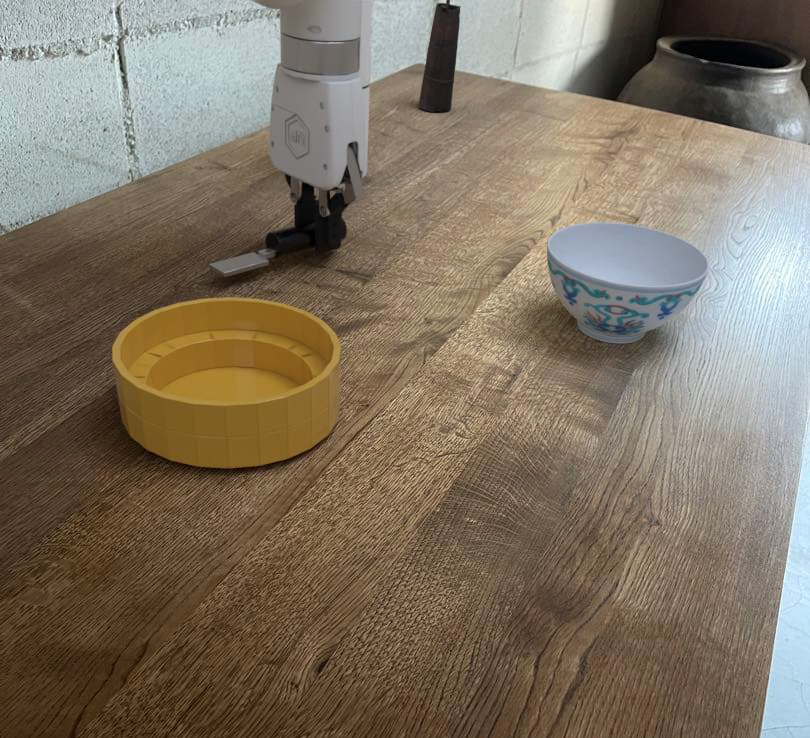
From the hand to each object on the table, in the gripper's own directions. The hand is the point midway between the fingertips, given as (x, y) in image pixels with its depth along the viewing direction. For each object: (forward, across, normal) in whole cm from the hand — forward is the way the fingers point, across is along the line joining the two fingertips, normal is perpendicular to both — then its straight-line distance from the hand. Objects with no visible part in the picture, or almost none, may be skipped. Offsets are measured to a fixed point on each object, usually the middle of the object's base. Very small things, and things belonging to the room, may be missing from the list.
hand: (317, 243), depth 98 cm
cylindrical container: (+1, -20, +20) cm, 29 cm away
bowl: (+2, +20, -26) cm, 33 cm away
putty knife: (0, 0, -5) cm, 5 cm away
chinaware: (+1, +30, +12) cm, 33 cm away
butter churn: (+1, -34, +52) cm, 62 cm away
